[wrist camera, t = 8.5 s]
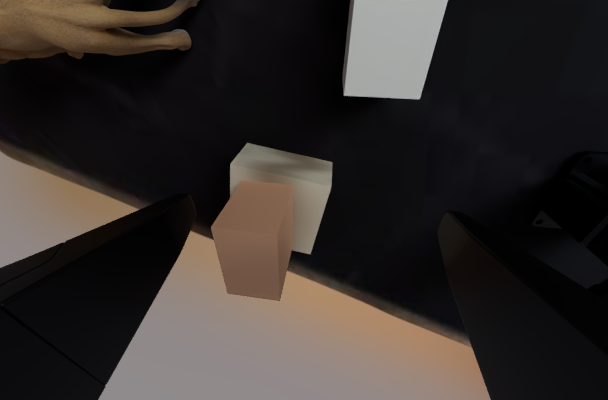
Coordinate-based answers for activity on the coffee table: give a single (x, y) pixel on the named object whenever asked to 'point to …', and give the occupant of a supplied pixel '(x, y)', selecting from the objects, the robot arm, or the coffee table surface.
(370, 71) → the off-white brick
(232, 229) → the terracotta brick
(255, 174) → the birch block
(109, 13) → the lion figurine
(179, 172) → the coffee table surface
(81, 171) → the coffee table surface
